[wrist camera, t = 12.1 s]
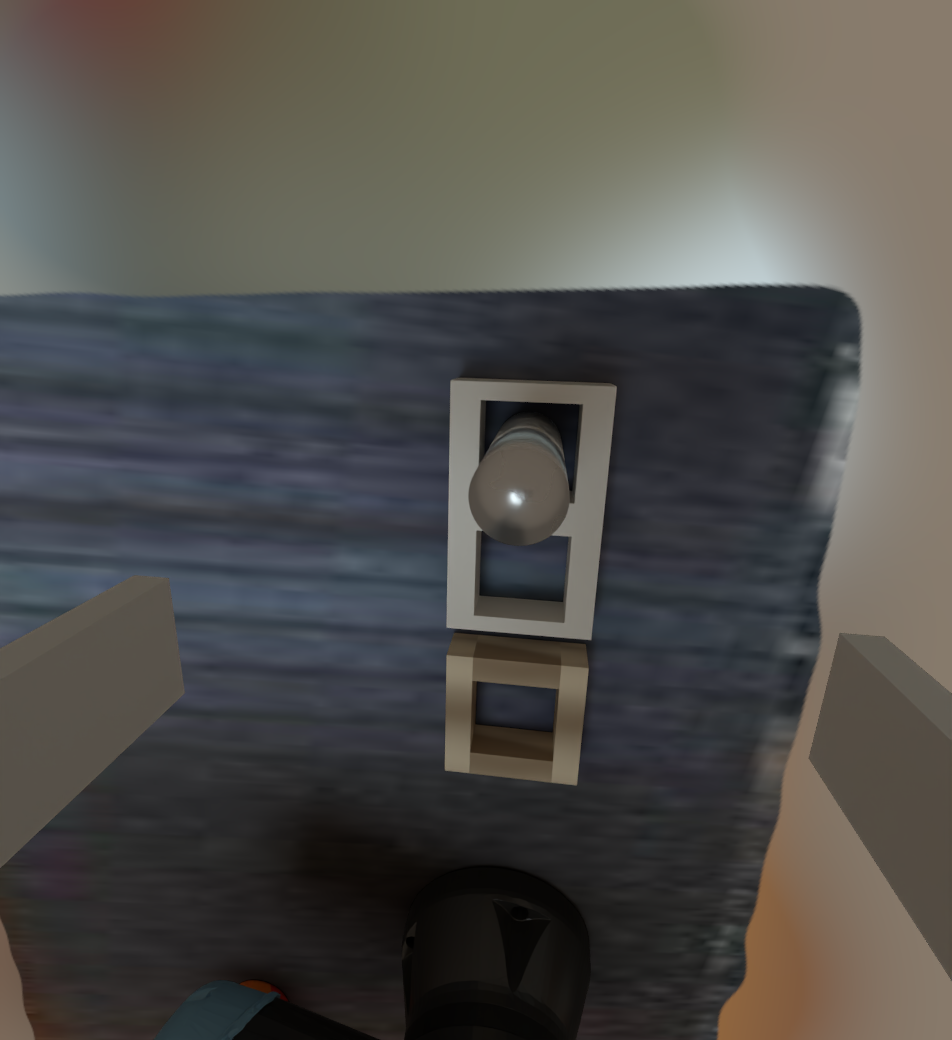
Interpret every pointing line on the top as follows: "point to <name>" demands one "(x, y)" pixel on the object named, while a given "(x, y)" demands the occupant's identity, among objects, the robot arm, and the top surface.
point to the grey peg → (521, 482)
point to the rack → (578, 525)
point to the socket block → (509, 746)
